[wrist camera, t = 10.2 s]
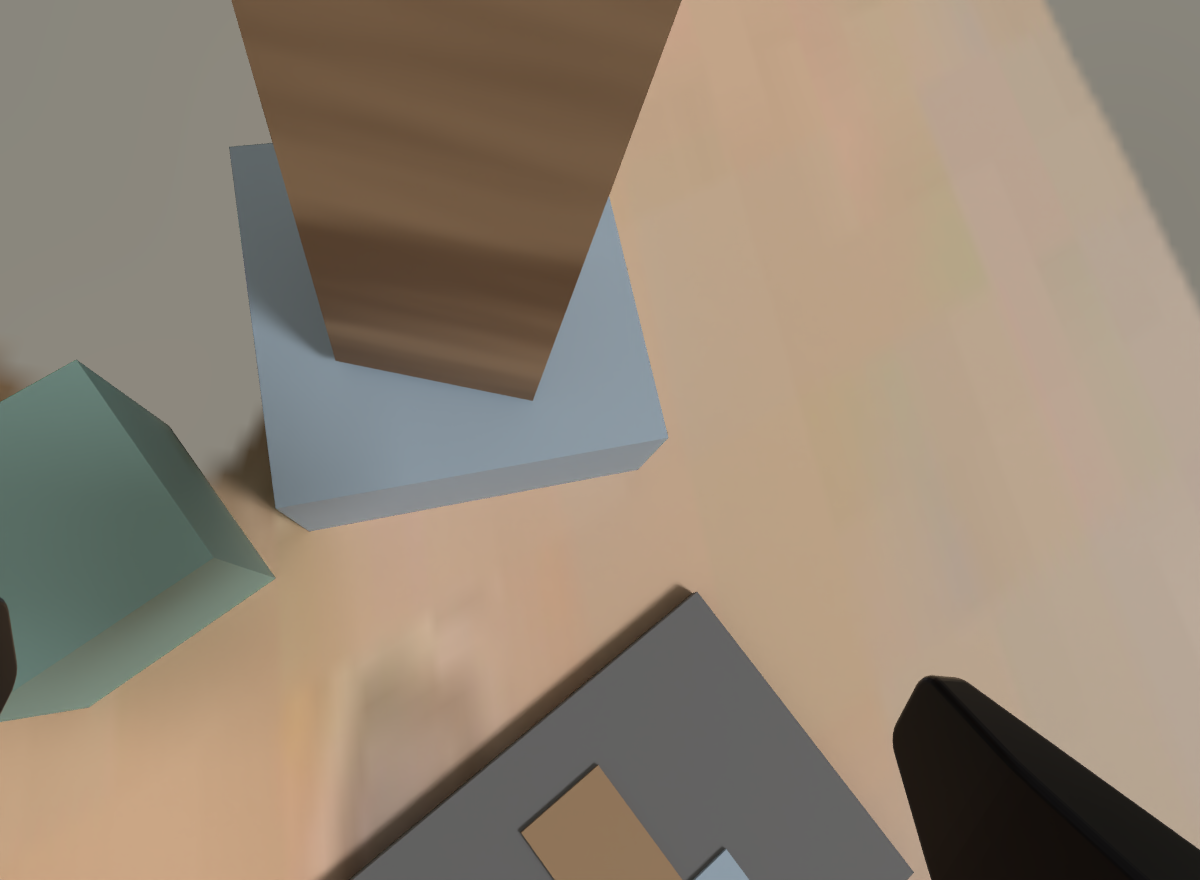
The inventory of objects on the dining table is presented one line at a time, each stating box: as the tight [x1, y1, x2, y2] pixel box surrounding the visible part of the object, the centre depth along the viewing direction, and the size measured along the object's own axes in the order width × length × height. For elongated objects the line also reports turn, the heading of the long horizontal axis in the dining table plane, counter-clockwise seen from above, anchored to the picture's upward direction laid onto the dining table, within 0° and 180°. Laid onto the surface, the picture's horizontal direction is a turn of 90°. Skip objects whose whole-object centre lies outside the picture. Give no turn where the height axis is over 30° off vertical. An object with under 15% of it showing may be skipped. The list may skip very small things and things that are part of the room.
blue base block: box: [229, 143, 668, 531], centre depth 21 cm, size 9×9×4 cm
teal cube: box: [0, 360, 275, 722], centre depth 17 cm, size 5×5×5 cm
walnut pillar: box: [232, 0, 681, 401], centre depth 13 cm, size 4×4×12 cm
